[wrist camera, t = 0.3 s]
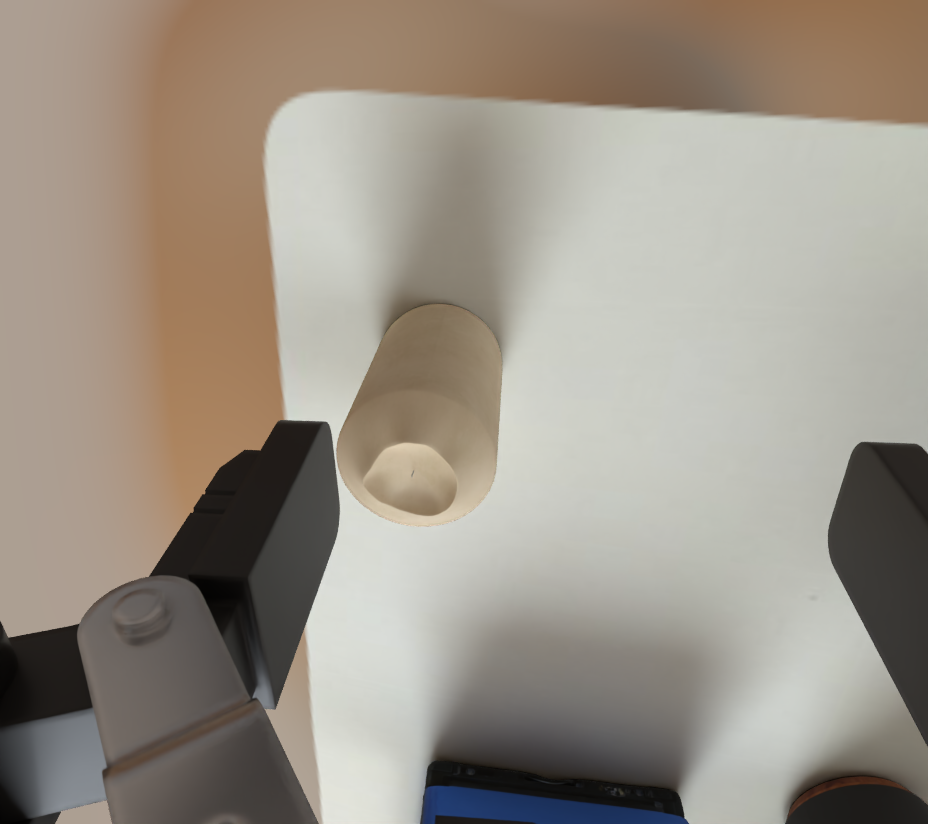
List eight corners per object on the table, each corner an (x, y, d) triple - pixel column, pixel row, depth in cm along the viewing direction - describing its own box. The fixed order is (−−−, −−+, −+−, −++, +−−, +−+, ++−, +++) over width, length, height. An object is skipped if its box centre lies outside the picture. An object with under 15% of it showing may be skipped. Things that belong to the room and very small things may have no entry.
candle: (375, 406, 34) (322, 540, 25) (384, 293, 31) (329, 397, 22) (493, 423, 34) (482, 563, 25) (512, 311, 31) (507, 424, 22)
